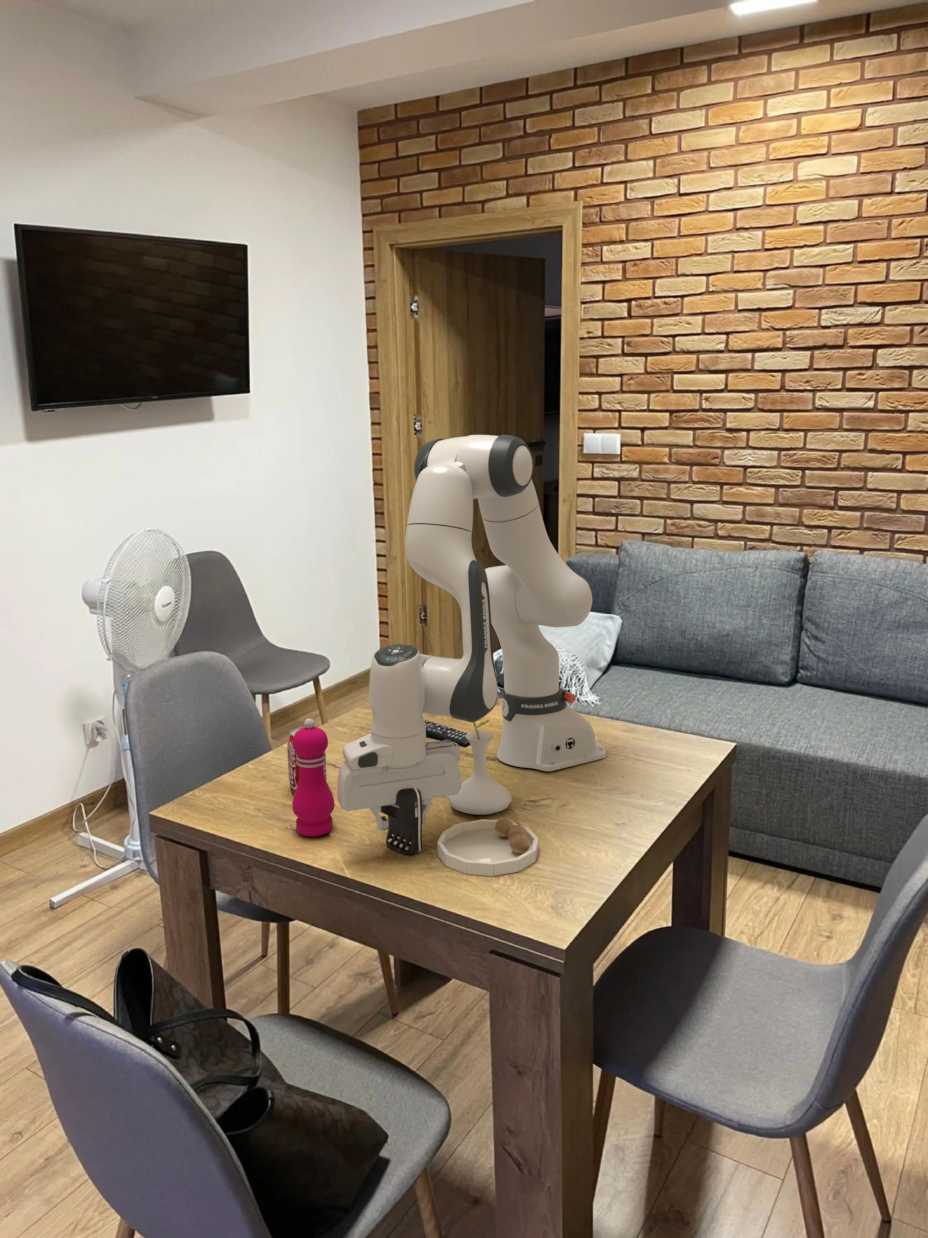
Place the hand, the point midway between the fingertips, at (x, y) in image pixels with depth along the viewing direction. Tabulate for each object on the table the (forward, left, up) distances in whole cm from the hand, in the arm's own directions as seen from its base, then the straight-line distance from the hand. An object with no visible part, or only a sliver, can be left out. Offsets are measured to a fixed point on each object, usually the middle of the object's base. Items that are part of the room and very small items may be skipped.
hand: (401, 826), depth 158 cm
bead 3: (-17, +9, -4) cm, 20 cm away
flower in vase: (-18, -12, -4) cm, 22 cm away
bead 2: (-18, +6, -4) cm, 19 cm away
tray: (-13, +6, -4) cm, 15 cm away
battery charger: (0, 0, -4) cm, 4 cm away
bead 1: (-17, +3, -4) cm, 18 cm away
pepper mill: (+12, -13, -4) cm, 18 cm away
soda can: (+10, -30, -4) cm, 32 cm away
